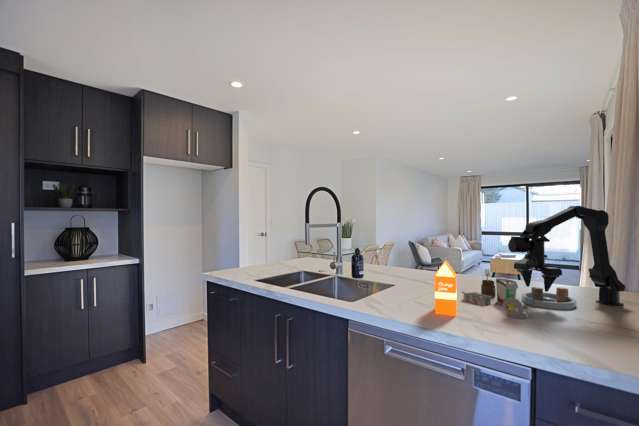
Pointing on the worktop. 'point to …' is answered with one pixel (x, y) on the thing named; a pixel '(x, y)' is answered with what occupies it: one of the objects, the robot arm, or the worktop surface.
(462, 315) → the worktop surface
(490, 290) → the utensil holder
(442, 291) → the orange juice
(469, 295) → the egg carton
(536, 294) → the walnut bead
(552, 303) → the groove tray
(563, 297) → the brown cork stopper
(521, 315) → the pocket watch
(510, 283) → the food container
